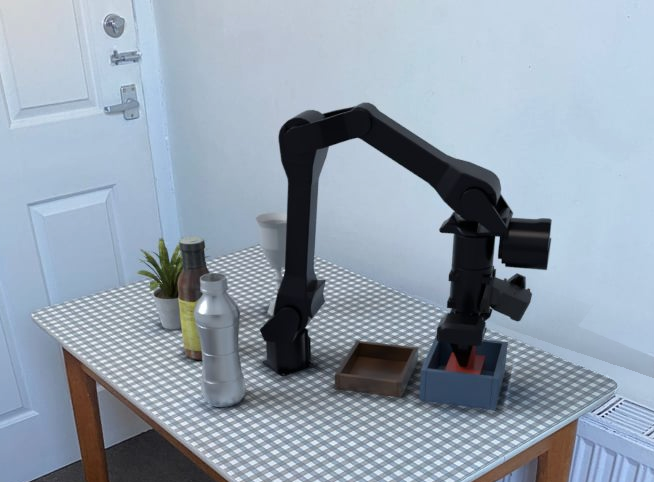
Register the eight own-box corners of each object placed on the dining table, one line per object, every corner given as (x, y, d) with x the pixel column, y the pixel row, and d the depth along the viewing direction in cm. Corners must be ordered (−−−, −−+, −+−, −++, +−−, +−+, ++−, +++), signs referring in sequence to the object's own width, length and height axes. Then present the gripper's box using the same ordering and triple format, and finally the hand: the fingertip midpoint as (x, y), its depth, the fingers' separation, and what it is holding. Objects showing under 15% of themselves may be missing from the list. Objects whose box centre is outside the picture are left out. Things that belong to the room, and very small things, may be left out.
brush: (477, 398, 117) (480, 353, 113) (442, 394, 118) (444, 349, 115) (483, 375, 123) (487, 332, 119) (450, 371, 125) (453, 328, 121)
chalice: (306, 308, 150) (303, 215, 141) (286, 321, 145) (282, 226, 136) (274, 301, 153) (269, 210, 144) (254, 314, 148) (247, 220, 139)
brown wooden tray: (334, 391, 121) (334, 374, 120) (356, 356, 132) (356, 340, 130) (401, 400, 118) (401, 382, 117) (417, 363, 129) (418, 347, 127)
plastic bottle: (203, 392, 123) (189, 270, 113) (246, 389, 123) (236, 267, 113) (202, 414, 117) (187, 287, 107) (247, 410, 117) (237, 284, 107)
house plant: (192, 347, 137) (182, 257, 129) (122, 338, 141) (108, 250, 133) (225, 315, 148) (218, 230, 140) (160, 307, 153) (149, 225, 144)
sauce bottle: (215, 362, 131) (203, 248, 122) (179, 360, 133) (165, 246, 123) (226, 345, 137) (215, 234, 127) (192, 343, 138) (179, 233, 128)
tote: (419, 403, 117) (420, 369, 115) (434, 365, 128) (436, 334, 125) (495, 413, 114) (498, 379, 111) (504, 373, 125) (508, 341, 122)
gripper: (525, 292, 101) (513, 398, 109) (536, 246, 116) (525, 341, 124) (438, 285, 104) (433, 388, 112) (460, 240, 120) (454, 334, 127)
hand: (464, 362), depth 119 cm, fingers closed on brush, 3 cm apart
